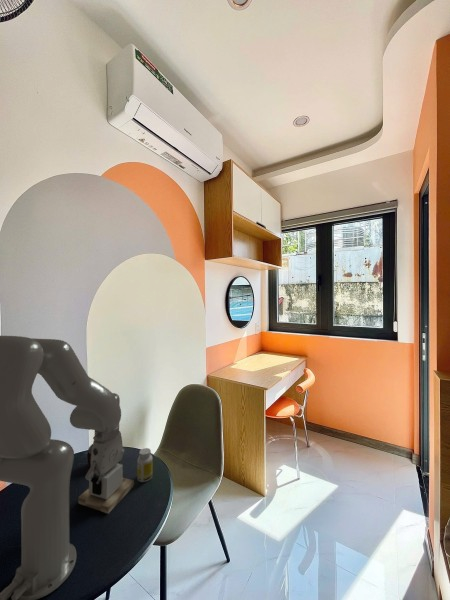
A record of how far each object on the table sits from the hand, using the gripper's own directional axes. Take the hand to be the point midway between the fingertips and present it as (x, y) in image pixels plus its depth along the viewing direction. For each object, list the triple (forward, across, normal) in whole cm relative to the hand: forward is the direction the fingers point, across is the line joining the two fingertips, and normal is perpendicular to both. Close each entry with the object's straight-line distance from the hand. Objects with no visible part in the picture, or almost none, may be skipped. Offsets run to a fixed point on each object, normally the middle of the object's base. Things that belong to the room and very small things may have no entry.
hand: (106, 484), depth 86 cm
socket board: (+4, +1, 0) cm, 4 cm away
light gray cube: (+1, 0, 0) cm, 1 cm away
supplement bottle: (+4, +12, -7) cm, 14 cm away
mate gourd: (+4, +12, +15) cm, 19 cm away
